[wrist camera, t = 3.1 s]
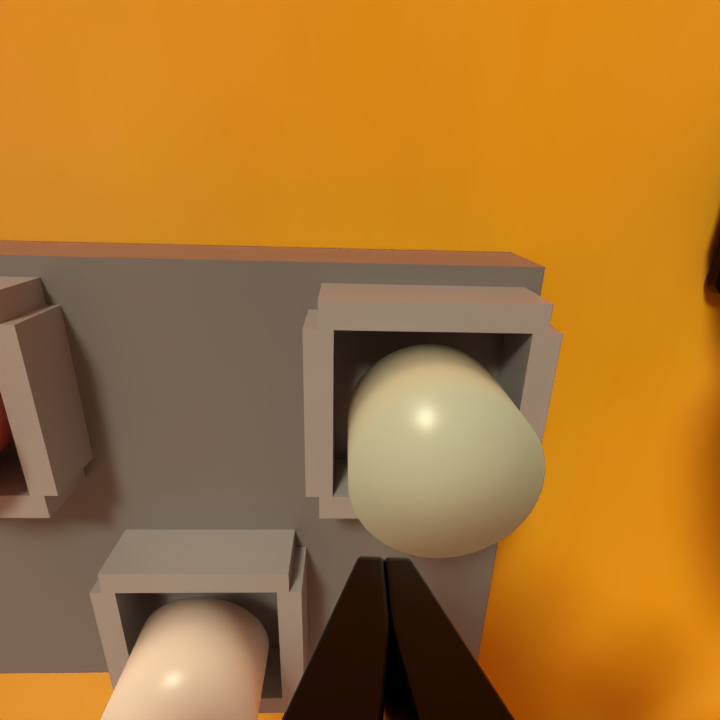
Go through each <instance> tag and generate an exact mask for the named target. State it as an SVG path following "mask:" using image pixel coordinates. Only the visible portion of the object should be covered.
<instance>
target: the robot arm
mask: <svg viewBox="0 0 720 720" xmlns="http://www.w3.org/2000/svg"><path fill="white" fill-rule="evenodd" d="M708 287H709V289H710V290H711V291H712V292H715V293H718V294H720V241H719V244H718V248H717V251H716V254H715V258H714V261H713V264H712V268H711V271H710V274H709V277H708ZM383 719H384V720H515V719H514V717H513V716H512V714H511V713H510V711H509V710H508V708H507V707H506V705H505V704H504V702H503V701H502V699H501V697H500V696H499V694H498V693H497V691H496V690H495V688H494V687H493V685H492V684H491V682H490V680H489V679H488V677H487V676H486V674H485V673H484V671H483V670H482V668H481V667H480V665H479V664H478V662H477V660H476V659H475V657H474V656H473V654H472V653H471V651H470V650H469V648H468V647H467V645H466V643H465V642H464V640H463V639H462V637H461V636H460V634H459V633H458V631H457V630H456V628H455V627H454V625H453V623H452V622H451V620H450V619H449V617H448V616H447V614H446V613H445V611H444V610H443V608H442V606H441V605H440V603H439V602H438V600H437V599H436V597H435V596H434V594H433V593H432V591H431V589H430V588H429V586H428V585H427V583H426V582H425V580H424V579H423V577H422V576H421V574H420V573H419V571H418V569H417V568H416V566H415V565H414V563H413V562H412V560H411V559H409V558H408V557H386V558H385V560H384V559H383V558H382V557H380V556H360V557H359V558H358V559H357V560H356V562H355V565H354V567H353V569H352V571H351V573H350V575H349V577H348V580H347V582H346V584H345V586H344V588H343V590H342V592H341V594H340V597H339V599H338V601H337V603H336V605H335V607H334V609H333V612H332V614H331V616H330V618H329V620H328V622H327V624H326V626H325V629H324V631H323V633H322V635H321V637H320V639H319V641H318V644H317V646H316V648H315V650H314V652H313V654H312V656H311V658H310V661H309V663H308V665H307V667H306V669H305V671H304V673H303V676H302V678H301V680H300V682H299V684H298V686H297V688H296V690H295V693H294V695H293V697H292V699H291V701H290V703H289V705H288V708H287V710H286V712H285V714H284V716H283V718H282V720H383Z"/></svg>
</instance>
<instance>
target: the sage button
mask: <svg viewBox="0 0 720 720" xmlns="http://www.w3.org/2000/svg"><path fill="white" fill-rule="evenodd" d="M347 422H348V491H349V496H350V501H351V504H352V507H353V509H354V512H355V514H356V515H357V517H358V519H359V520H360V522H361V523H362V524H363V526H364V527H365V528H366V529H367V530H368V531H369V532H370V533H371V534H372V535H373V536H374V537H375V538H377V539H378V540H379V541H381V542H382V543H384V544H385V545H387V546H389V547H391V548H393V549H395V550H398V551H400V552H403V553H406V554H410V555H414V556H419V557H426V558H450V557H457V556H463V555H466V554H470V553H474V552H477V551H479V550H482V549H485V548H487V547H489V546H491V545H493V544H495V543H497V542H498V541H500V540H502V539H503V538H505V537H506V536H508V535H509V534H510V533H511V532H513V531H514V530H515V529H516V528H517V527H518V526H519V525H520V524H521V523H522V522H523V521H524V520H525V519H526V517H527V516H528V515H529V514H530V512H531V511H532V509H533V508H534V506H535V504H536V503H537V500H538V498H539V496H540V493H541V490H542V487H543V483H544V477H545V458H544V453H543V449H542V446H541V443H540V440H539V438H538V436H537V435H536V433H535V431H534V429H533V428H532V427H531V425H530V424H529V423H528V421H527V420H526V419H525V417H524V416H523V415H522V414H521V412H520V411H519V410H518V408H517V407H516V406H515V404H514V403H513V402H512V400H511V399H510V398H509V396H508V395H507V394H506V392H505V391H504V390H503V388H502V387H501V386H500V385H499V383H498V382H497V381H496V379H495V378H494V377H493V375H492V374H491V373H490V371H489V370H488V369H487V368H486V367H485V366H484V365H483V364H482V363H481V362H480V361H479V360H478V359H476V358H475V357H473V356H472V355H470V354H468V353H466V352H464V351H462V350H460V349H457V348H454V347H450V346H445V345H438V344H420V345H415V346H409V347H406V348H403V349H399V350H397V351H395V352H392V353H390V354H388V355H387V356H385V357H383V358H382V359H380V360H379V361H378V362H376V363H375V364H374V365H372V366H371V367H370V368H369V369H368V370H367V371H366V372H365V374H364V375H363V376H362V377H361V379H360V380H359V382H358V383H357V385H356V387H355V389H354V391H353V393H352V396H351V398H350V402H349V407H348V416H347Z"/></svg>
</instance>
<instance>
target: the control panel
mask: <svg viewBox="0 0 720 720" xmlns="http://www.w3.org/2000/svg"><path fill="white" fill-rule="evenodd" d="M544 270H545V267H543V266H541V265H539V264H536V263H534V262H532V261H529V260H527V259H525V258H522V257H520V256H518V255H515V254H513V253H511V252H472V251H429V250H387V249H344V248H301V247H258V246H216V245H173V244H130V243H88V242H45V241H2V240H0V392H1V396H2V399H3V403H4V406H5V410H6V413H7V417H8V420H9V424H10V427H11V431H12V434H13V438H14V442H13V443H12V444H11V445H9V446H8V447H7V448H6V449H4V450H3V451H2V452H0V673H88V672H109V674H110V678H111V682H112V686H113V690H114V689H115V687H116V685H117V683H118V680H119V678H120V676H121V674H122V672H123V669H124V667H125V665H126V663H127V661H128V659H129V656H130V654H131V652H132V650H133V648H134V645H135V643H136V641H137V639H138V637H139V634H140V632H141V630H142V628H143V626H144V624H145V622H146V620H147V619H148V617H149V616H150V615H151V614H152V613H153V612H154V611H155V610H157V609H158V608H160V607H161V606H163V605H165V604H167V603H169V602H172V601H175V600H179V599H182V598H189V597H211V598H217V599H222V600H226V601H229V602H231V603H234V604H236V605H238V606H241V607H242V608H244V609H246V610H247V611H249V612H250V613H251V614H253V615H254V616H255V617H256V618H257V619H258V620H259V621H260V623H261V624H262V625H263V627H264V629H265V630H266V633H267V636H268V640H269V651H268V657H267V663H266V669H265V675H264V682H263V688H262V694H261V700H260V706H259V712H258V713H282V712H286V710H287V708H288V705H289V703H290V701H291V699H292V697H293V695H294V693H295V690H296V688H297V686H298V684H299V682H300V680H301V678H302V676H303V673H304V671H305V669H306V667H307V665H308V663H309V661H310V658H311V656H312V654H313V652H314V650H315V648H316V646H317V644H318V641H319V639H320V637H321V635H322V633H323V631H324V629H325V626H326V624H327V622H328V620H329V618H330V616H331V614H332V612H333V609H334V607H335V605H336V603H337V601H338V599H339V597H340V594H341V592H342V590H343V588H344V586H345V584H346V582H347V580H348V577H349V575H350V573H351V571H352V569H353V567H354V565H355V562H356V560H357V559H358V558H359V557H360V556H380V557H382V558H383V559H384V560H385V558H386V557H408V558H409V559H411V560H412V562H413V563H414V565H415V566H416V568H417V569H418V571H419V573H420V574H421V576H422V577H423V579H424V580H425V582H426V583H427V585H428V586H429V588H430V589H431V591H432V593H433V594H434V596H435V597H436V599H437V600H438V602H439V603H440V605H441V606H442V608H443V610H444V611H445V613H446V614H447V616H448V617H449V619H450V620H451V622H452V623H453V625H454V627H455V628H456V630H457V631H458V633H459V634H460V636H461V637H462V639H463V640H464V642H465V643H466V645H467V647H468V648H469V650H470V651H471V653H472V654H473V656H474V657H475V659H476V660H478V654H479V648H480V642H481V637H482V631H483V625H484V619H485V613H486V608H487V602H488V596H489V590H490V584H491V578H492V573H493V567H494V561H495V555H496V549H497V544H498V542H497V543H495V544H493V545H491V546H489V547H487V548H485V549H482V550H479V551H477V552H474V553H470V554H466V555H463V556H457V557H450V558H426V557H419V556H414V555H410V554H406V553H403V552H400V551H398V550H395V549H393V548H391V547H389V546H387V545H385V544H384V543H382V542H381V541H379V540H378V539H377V538H375V537H374V536H373V535H372V534H371V533H370V532H369V531H368V530H367V529H366V528H365V527H364V526H363V524H362V523H361V522H360V520H359V519H358V517H357V515H356V514H355V512H354V509H353V507H352V504H351V501H350V496H349V491H348V422H347V416H348V407H349V402H350V398H351V396H352V393H353V391H354V389H355V387H356V385H357V383H358V382H359V380H360V379H361V377H362V376H363V375H364V374H365V372H366V371H367V370H368V369H369V368H370V367H371V366H372V365H374V364H375V363H376V362H378V361H379V360H380V359H382V358H383V357H385V356H387V355H388V354H390V353H392V352H395V351H397V350H399V349H403V348H406V347H409V346H415V345H420V344H438V345H445V346H450V347H454V348H457V349H460V350H462V351H464V352H466V353H468V354H470V355H472V356H473V357H475V358H476V359H478V360H479V361H480V362H481V363H482V364H483V365H484V366H485V367H486V368H487V369H488V370H489V371H490V373H491V374H492V375H493V377H494V378H495V379H496V381H497V382H498V383H499V385H500V386H501V387H502V388H503V390H504V391H505V392H506V394H507V395H508V396H509V398H510V399H511V400H512V402H513V403H514V404H515V406H516V407H517V408H518V410H519V411H520V412H521V414H522V415H523V416H524V417H525V419H526V420H527V421H528V423H529V424H530V425H531V427H532V428H533V429H534V431H535V433H536V435H537V436H538V438H539V440H540V443H542V438H543V433H544V428H545V423H546V418H547V413H548V408H549V403H550V398H551V393H552V387H553V382H554V377H555V372H556V367H557V362H558V357H559V352H560V347H561V342H562V337H563V334H562V333H561V332H559V331H558V330H556V329H555V328H554V327H552V326H551V325H550V320H551V315H552V309H553V303H551V302H549V301H547V300H546V299H544V298H542V297H541V296H540V294H541V288H542V282H543V276H544Z"/></svg>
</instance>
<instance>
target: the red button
mask: <svg viewBox="0 0 720 720" xmlns="http://www.w3.org/2000/svg"><path fill="white" fill-rule="evenodd" d="M13 442H14V438H13V434H12V431H11V427H10V424H9V420H8V417H7V413H6V410H5V406H4V403H3V399H2V396H1V392H0V452H2V451H3V450H4V449H6V448H7V447H8V446H9V445H11V444H12V443H13Z"/></svg>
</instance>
